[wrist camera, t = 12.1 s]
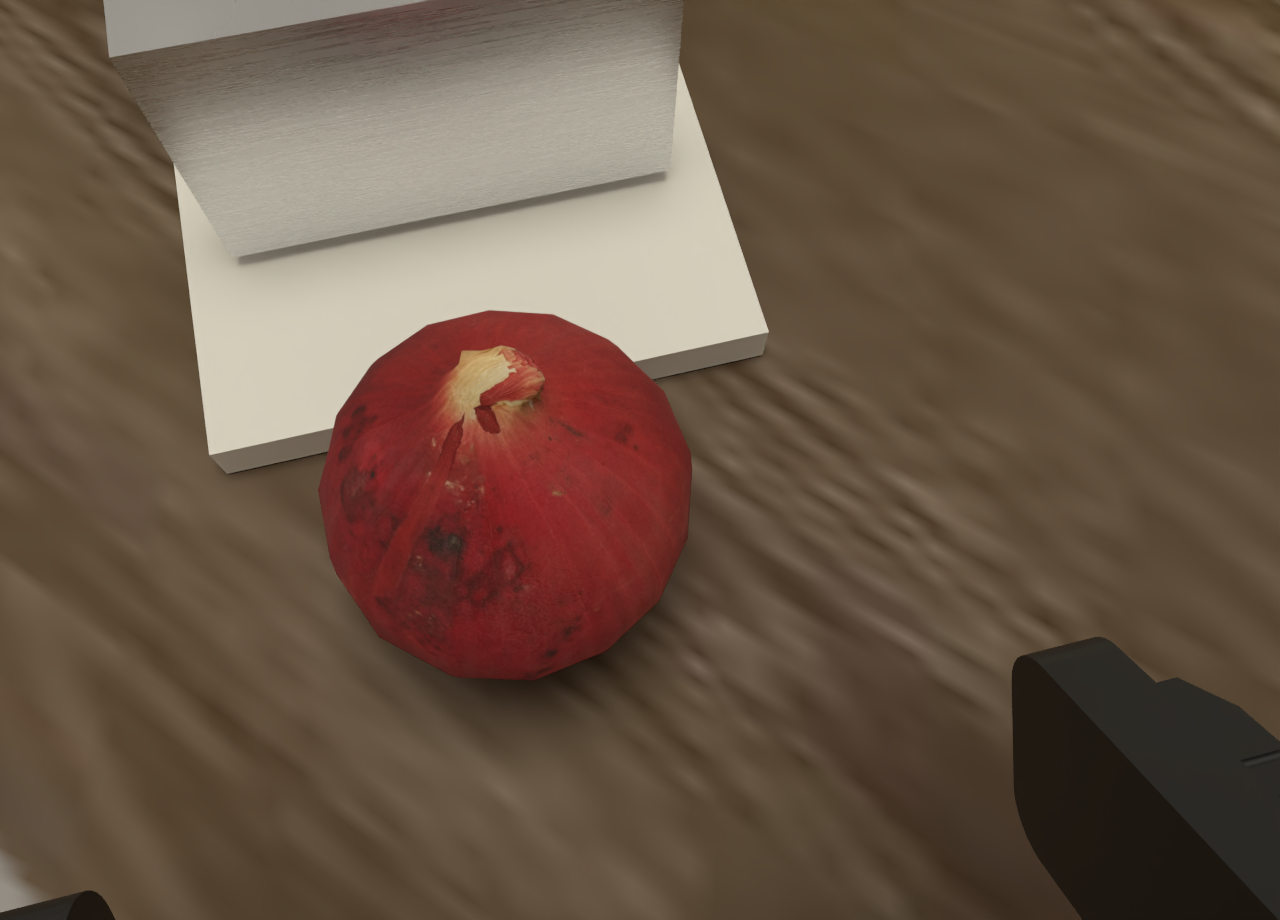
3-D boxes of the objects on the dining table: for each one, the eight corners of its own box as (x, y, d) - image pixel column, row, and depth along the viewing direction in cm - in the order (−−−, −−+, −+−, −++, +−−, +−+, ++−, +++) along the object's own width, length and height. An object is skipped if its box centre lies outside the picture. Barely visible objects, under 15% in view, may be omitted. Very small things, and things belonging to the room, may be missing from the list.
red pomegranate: (592, 769, 20) (576, 697, 12) (316, 627, 20) (144, 478, 13) (725, 494, 21) (784, 286, 14) (470, 376, 22) (396, 121, 15)
